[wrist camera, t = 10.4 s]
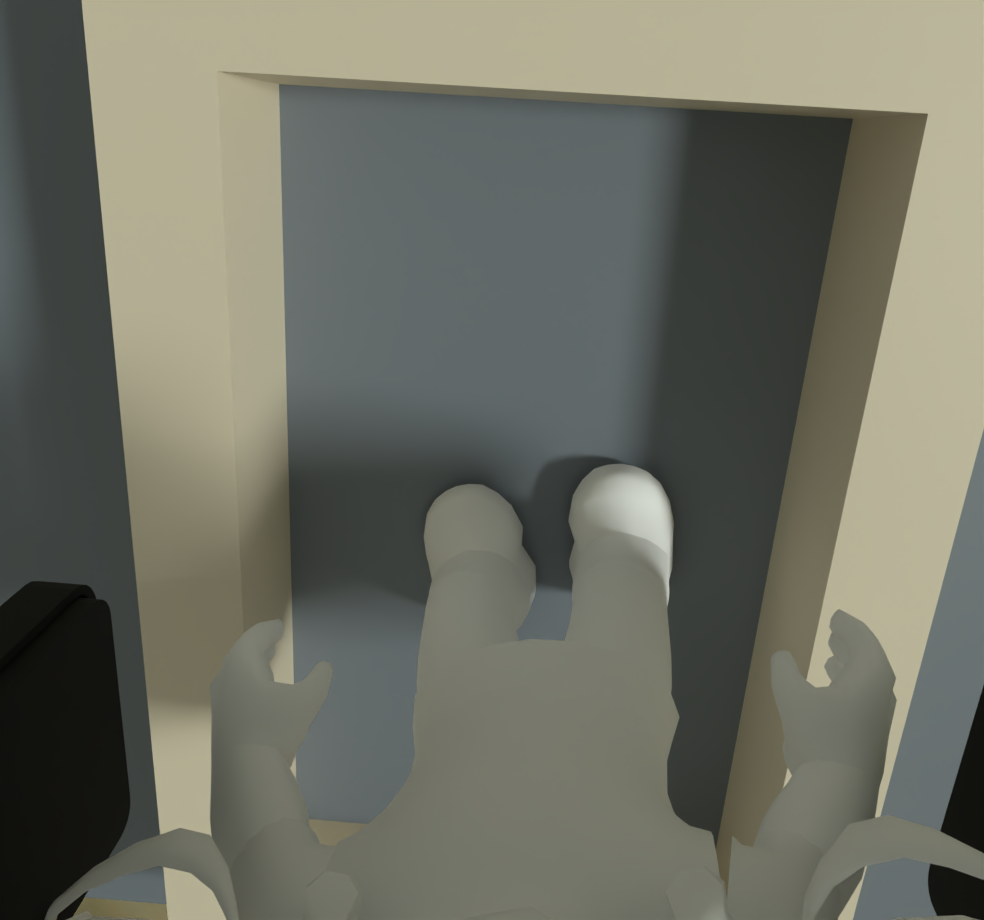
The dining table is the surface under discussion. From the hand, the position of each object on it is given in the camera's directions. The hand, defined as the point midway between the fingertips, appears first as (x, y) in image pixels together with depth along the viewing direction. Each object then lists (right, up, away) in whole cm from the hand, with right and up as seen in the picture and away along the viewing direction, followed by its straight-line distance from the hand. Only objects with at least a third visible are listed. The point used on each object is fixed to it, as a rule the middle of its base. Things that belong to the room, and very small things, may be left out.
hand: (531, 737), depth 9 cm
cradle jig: (0, +2, +6) cm, 7 cm away
